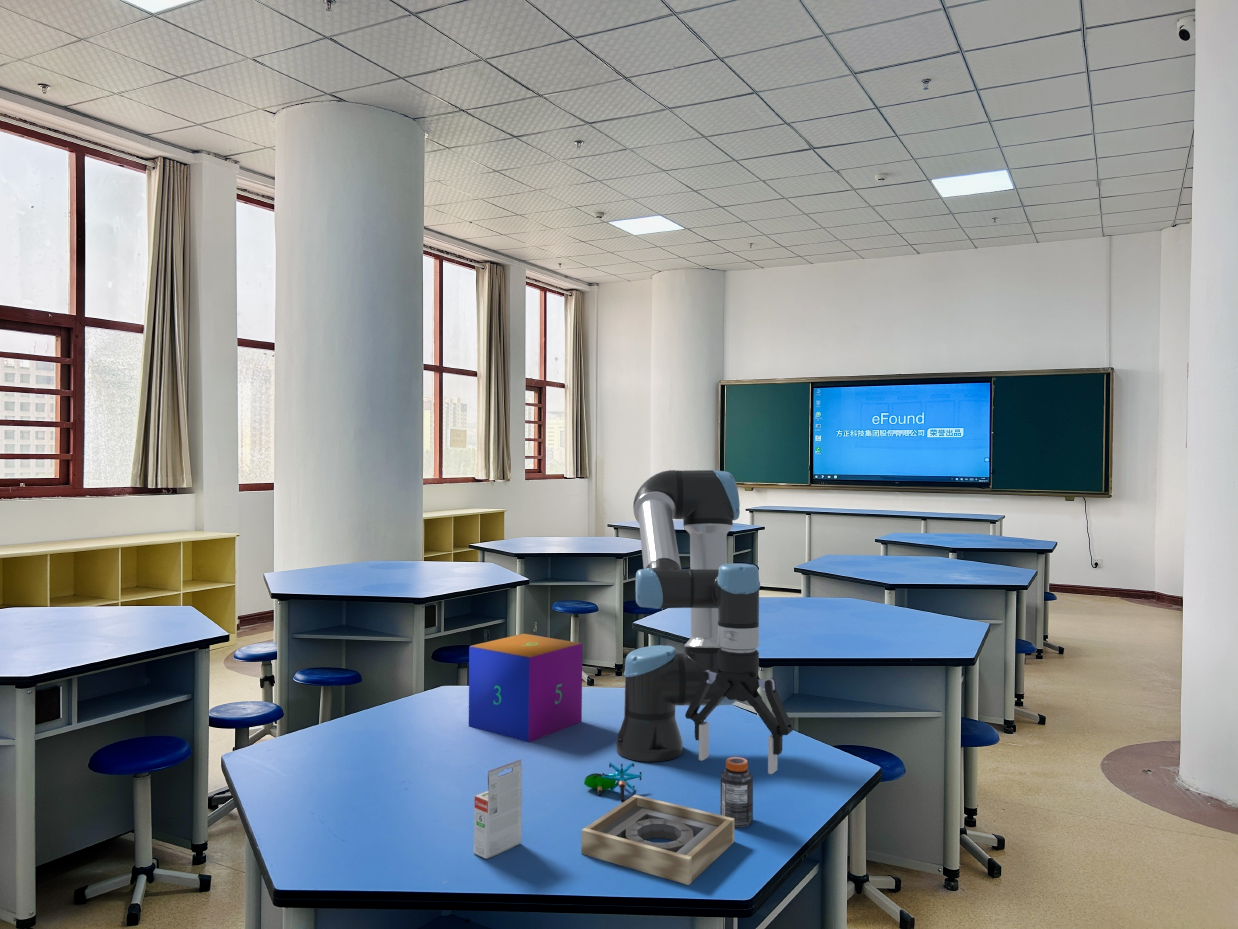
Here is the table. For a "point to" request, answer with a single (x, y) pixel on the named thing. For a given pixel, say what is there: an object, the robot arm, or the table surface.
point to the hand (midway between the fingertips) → (737, 765)
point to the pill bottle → (737, 792)
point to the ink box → (499, 812)
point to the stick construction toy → (612, 780)
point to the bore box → (648, 818)
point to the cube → (525, 686)
